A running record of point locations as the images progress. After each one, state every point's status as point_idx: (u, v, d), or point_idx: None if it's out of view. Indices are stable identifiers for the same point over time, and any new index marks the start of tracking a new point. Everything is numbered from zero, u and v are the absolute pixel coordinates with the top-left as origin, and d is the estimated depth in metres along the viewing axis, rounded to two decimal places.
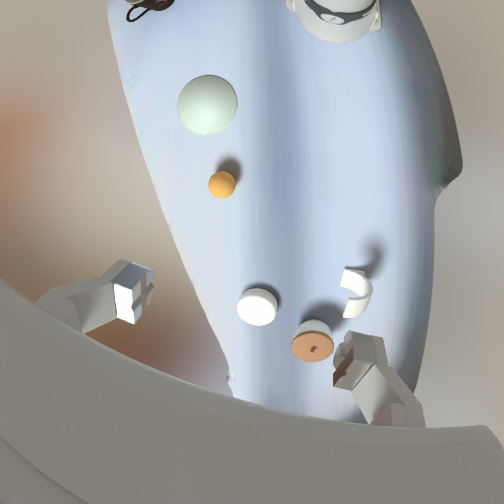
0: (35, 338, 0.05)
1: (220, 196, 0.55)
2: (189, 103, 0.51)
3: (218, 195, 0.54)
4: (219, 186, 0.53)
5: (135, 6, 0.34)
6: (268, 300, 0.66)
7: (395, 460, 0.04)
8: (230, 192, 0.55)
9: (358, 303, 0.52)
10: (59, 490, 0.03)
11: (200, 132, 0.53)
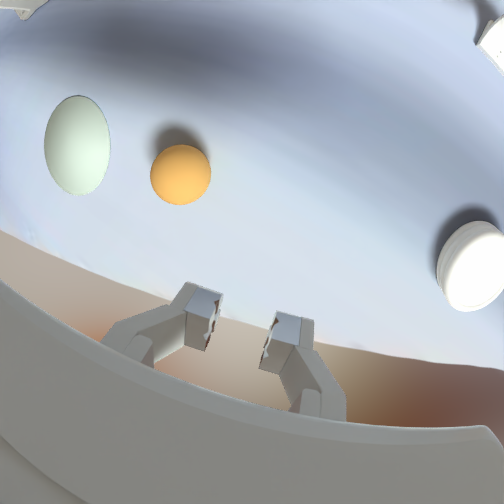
0: (35, 338, 0.05)
1: (191, 187, 0.22)
2: (64, 170, 0.29)
3: (185, 190, 0.22)
4: (165, 176, 0.21)
5: None
6: (481, 235, 0.20)
7: (395, 460, 0.04)
8: (195, 162, 0.22)
9: None
10: (59, 490, 0.03)
11: (101, 172, 0.28)
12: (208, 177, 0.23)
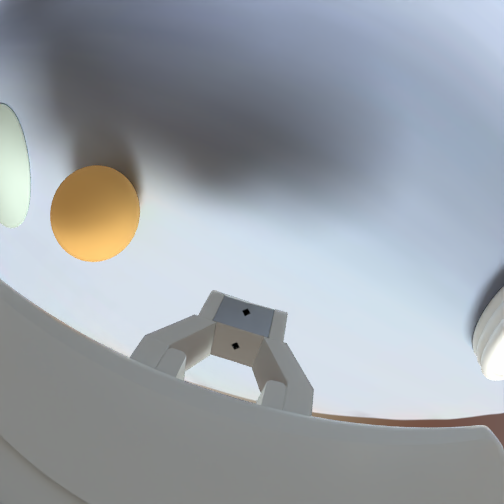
0: (35, 338, 0.05)
1: (100, 240, 0.12)
2: None
3: (92, 245, 0.12)
4: (60, 224, 0.11)
5: None
6: None
7: (395, 460, 0.04)
8: (103, 197, 0.12)
9: None
10: (60, 491, 0.03)
11: (25, 201, 0.18)
12: (130, 219, 0.14)
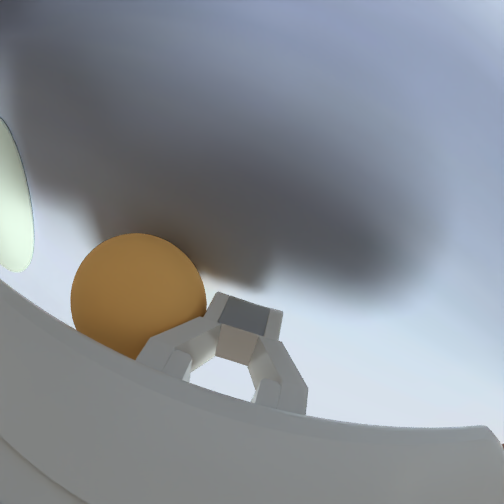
0: (35, 338, 0.05)
1: None
2: None
3: None
4: (86, 334, 0.08)
5: None
6: None
7: (395, 460, 0.04)
8: (154, 309, 0.08)
9: None
10: (60, 490, 0.03)
11: (27, 247, 0.14)
12: None
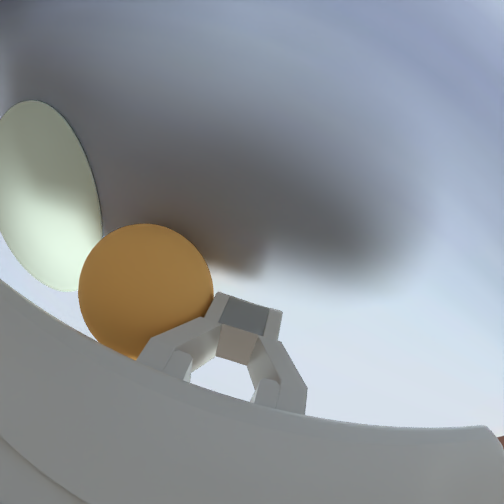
0: (35, 338, 0.05)
1: (87, 324, 0.09)
2: (24, 242, 0.15)
3: (84, 318, 0.09)
4: None
5: None
6: None
7: (395, 460, 0.04)
8: (96, 286, 0.08)
9: None
10: (60, 491, 0.03)
11: None
12: (122, 344, 0.08)
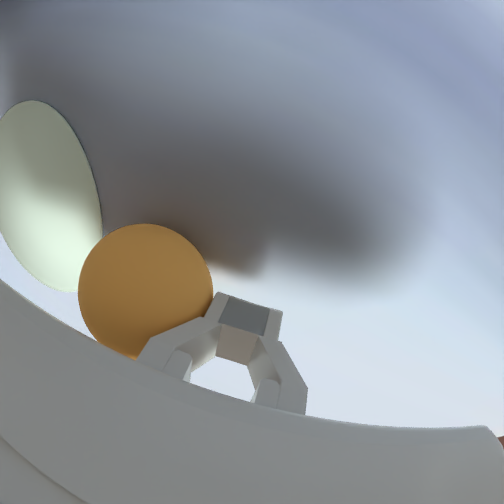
0: (35, 338, 0.05)
1: (86, 324, 0.09)
2: (24, 242, 0.15)
3: None
4: None
5: None
6: None
7: (395, 460, 0.04)
8: (95, 287, 0.08)
9: None
10: (60, 491, 0.03)
11: None
12: (122, 344, 0.08)
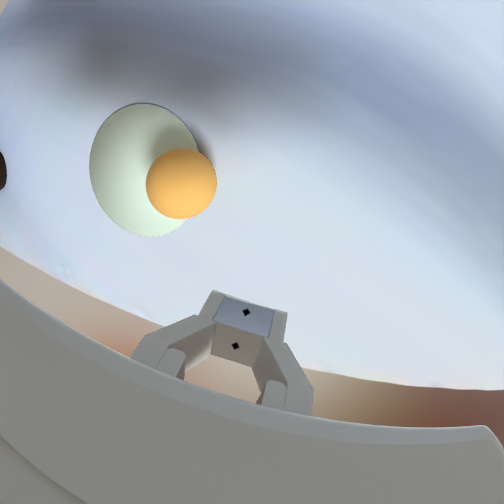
0: (35, 338, 0.05)
1: None
2: (123, 201, 0.25)
3: None
4: None
5: None
6: None
7: (395, 460, 0.04)
8: None
9: None
10: (60, 491, 0.03)
11: None
12: None
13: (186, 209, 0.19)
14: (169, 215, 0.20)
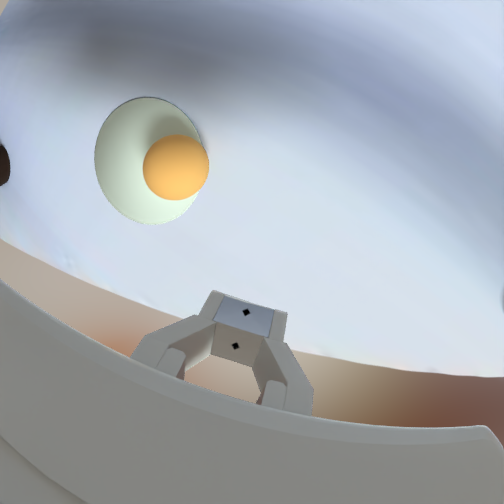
0: (35, 338, 0.05)
1: None
2: (127, 191, 0.26)
3: None
4: None
5: None
6: None
7: (395, 460, 0.04)
8: None
9: None
10: (60, 490, 0.03)
11: (187, 200, 0.25)
12: None
13: (169, 187, 0.20)
14: (157, 193, 0.21)
